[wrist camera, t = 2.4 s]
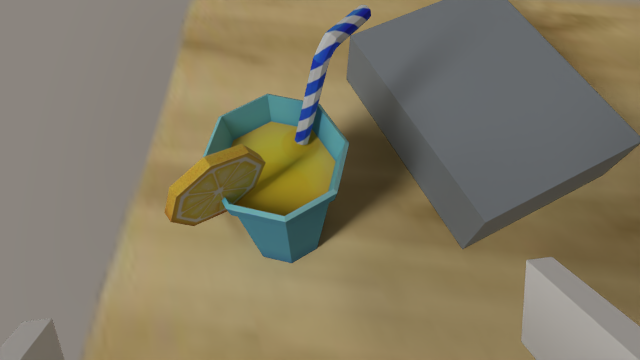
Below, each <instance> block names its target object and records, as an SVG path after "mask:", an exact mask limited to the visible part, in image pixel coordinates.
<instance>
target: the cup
mask: <svg viewBox="0 0 640 360" xmlns="http://www.w3.org/2000/svg"><path fill="white" fill-rule="evenodd" d="M370 16H371V11H370V9H369V8H368V7H367V6H366V5H360V6H359V7H358V8H356V9H355V10H354V11H352V12H351V13H350V14H349V15H347V16H346V17H345V18H344V19H342V20H341V21H340V22H338V23H337V24H336V25H335V26H333V27H332V28H331V29H330V30H328V31H327V32H326V33H325V34H324V36H323V38H322V40H321V42H320V44H319V46H318V49H317V51H316V53H315V55H314V58H313V62H312V66H311V70H310V75H309V79H308V84H307V88H306V92H305V97H304V101H302V100H297V99H292V98H287V97H282V96H277V95H271V94H266V95H264V96H261V97H259V98H257V99H255V100H253V101H251V102H249V103H247V104H245V105H243V106H241V107H239V108H236V109H234V110H232V111H230V112H228V113H226V114H224V115H222V116H220V117H219V118H218V121H217V123H216V126H215V128H214V131H213V133H212V135H211V138H210V140H209V143H208V145H207V148H206V150H205V153H204V155H203V158H202V159H201V160H199V161H198V162H197V163H196V164H195V165H194V166H193V167H192V168H190V169H189V170H188V171H187V172H186V173H185V174H184V175H183V176H182V177H180V178H179V179H178V180H177V181H176V182H175V183H174V184H173V185H171V186H170V187H169V192H168V197H167V203H166V208H165V214H166V215H167V217H168V218H169V220H170V221H171V222H174V223H180V224H185V225H191V226H195V225H197V224H199V223H202V222H204V221H206V220H208V219H211V218H213V217H215V216H218V215H220V214H222V213H224V212H227V211H228V212H229V213H230V214H231V215H234V216H238V217H239V219H240V221H241V222H242V224H243V225H244V227H245V228H246V230H247V232H248V233H249V235H250V236H251V238H252V239H253V241H254V242H255V244H256V246H257V247H258V249H259V250H260V252H261V253H262V255H263V256H264V257H268V258H272V259H276V260H281V261H285V262H289V263H293V262H295V261H296V260H298V259H300V258H301V257H303V256H305V255H306V254H308V253H310V252H312V251H313V250H315V249H317V246H318V243H319V239H320V235H321V231H322V227H323V224H324V220H325V216H326V212H327V209H328V205H329V203H330V202H332V201H333V200H335V197H336V195H337V192H338V188H339V184H340V180H341V176H342V171H343V167H344V163H345V159H346V155H347V151H348V146H349V142H348V141H347V140H346V138H345V137H344V136H343V134H342V133H341V132H340V130H339V129H338V128H337V126H336V125H335V124H334V122H333V121H332V120H331V118H330V117H329V116H328V115H327V113H326V112H325V111H324V109H323V108H322V107H321V105H320V104H318V102H319V98H320V95H321V91H322V87H323V83H324V79H325V75H326V71H327V67H328V64H329V60H330V58H331V56H332V54H333V52H334V51H335V49H336V48H337V47H338V46H339V45H340V44H341V43H342V42H343V41H344V40H346V39H347V38H348V37H349V36H350V35H351V34H352V33H353V32H355V31H356V30H357V29H358V28H359V27H360V26H361V25H363V24H364V23H365V22H366V21H367V20H368V19H369V18H370Z"/></svg>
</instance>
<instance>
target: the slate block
mask: <svg viewBox="0 0 640 360" xmlns="http://www.w3.org/2000/svg"><path fill="white" fill-rule="evenodd" d="M347 80H348V82H349V83H350V85H351V86H352V88H353V89H354V91H355V92H356V94H357V95H358V96H359V98H360V99H361V101H362V102H363V104H364V105H365V107H366V108H367V110H368V111H369V113H370V114H371V116H372V117H373V119H374V120H375V121H376V123H377V124H378V126H379V127H380V129H381V130H382V132H383V133H384V135H385V136H386V138H387V139H388V141H389V142H390V144H391V145H392V146H393V148H394V149H395V151H396V152H397V154H398V155H399V157H400V158H401V160H402V161H403V163H404V164H405V166H406V167H407V168H408V170H409V171H410V173H411V174H412V176H413V177H414V179H415V180H416V182H417V183H418V185H419V186H420V188H421V189H422V191H423V192H424V193H425V195H426V196H427V198H428V199H429V201H430V202H431V204H432V205H433V207H434V208H435V210H436V211H437V213H438V214H439V216H440V217H441V218H442V220H443V221H444V223H445V224H446V226H447V227H448V229H449V230H450V232H451V233H452V235H453V236H454V238H455V239H456V240H457V242H458V243H459V245H460V246H461V248H462V249H464V248H466V247H468V246H470V245H471V244H473V243H475V242H477V241H479V240H481V239H483V238H485V237H487V236H488V235H490V234H492V233H494V232H496V231H498V230H500V229H502V228H504V227H505V226H507V225H509V224H511V223H513V222H515V221H517V220H519V219H521V218H523V217H524V216H526V215H528V214H530V213H532V212H534V211H536V210H538V209H540V208H541V207H543V206H545V205H547V204H549V203H551V202H553V201H555V200H557V199H558V198H560V197H562V196H564V195H566V194H568V193H570V192H572V191H574V190H576V189H577V188H579V187H581V186H583V185H585V184H587V183H589V182H591V181H593V180H594V179H596V178H598V177H600V176H602V175H603V174H605V173H606V172H607V171H608V170H609V169H610V168H612V167H613V166H614V165H615V164H616V163H618V162H619V161H620V160H621V159H622V158H623V157H625V156H626V155H627V154H628V153H629V152H630V151H632V150H633V149H634V148H635V147H636V146H638V145H639V144H640V136H639V135H638V134H637V133H636V132H635V131H634V130H633V129H632V128H631V127H630V126H629V125H628V124H627V123H626V122H625V121H624V120H623V119H622V117H621V116H620V115H619V114H618V113H617V112H616V111H615V110H614V109H613V108H612V107H611V106H610V105H609V104H608V103H607V102H606V101H605V100H604V99H603V98H602V97H601V96H600V95H599V94H598V93H597V92H596V91H595V90H594V89H593V88H592V87H591V86H590V85H589V84H588V83H587V81H586V80H585V79H584V78H583V77H582V76H581V75H580V74H579V73H578V72H577V71H576V70H575V69H574V68H573V67H572V66H571V65H570V64H569V63H568V62H567V61H566V60H565V59H564V58H563V57H562V56H561V55H560V54H559V53H558V52H557V51H556V50H555V49H554V48H553V46H552V45H551V44H550V43H549V42H548V41H547V40H546V39H545V38H544V37H543V36H542V35H541V34H540V33H539V32H538V31H537V30H536V29H535V28H534V27H533V26H532V25H531V24H530V23H529V22H528V21H527V20H526V19H525V18H524V17H523V16H522V15H521V14H520V13H519V12H518V10H517V9H516V8H515V7H514V6H513V5H512V4H511V3H510V2H509V1H508V0H442V1H440V2H437V3H434V4H432V5H429V6H427V7H424V8H421V9H419V10H416V11H414V12H411V13H408V14H406V15H403V16H401V17H398V18H395V19H393V20H390V21H388V22H385V23H382V24H380V25H377V26H375V27H372V28H369V29H367V30H364V31H362V32H359V33H356V34H354V35H351V36H350V46H349V57H348V68H347Z"/></svg>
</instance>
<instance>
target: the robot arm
mask: <svg viewBox="0 0 640 360" xmlns="http://www.w3.org/2000/svg"><path fill="white" fill-rule="evenodd" d="M521 342H522V343H523V344H524V345H525V346H526V348H527V349H528V350H529V351H530V353H531V354H532V355H533V356H534V358H535V359H536V360H640V326H638V325H637V324H636V323H635V322H633V321H632V320H631V319H630V318H628V317H627V316H626V315H625V314H623V313H622V312H621V311H620V310H618V309H617V308H616V307H615V306H613V305H612V304H611V303H610V302H608V301H607V300H606V299H604V298H603V297H602V296H601V295H599V294H598V293H597V292H596V291H594V290H593V289H592V288H591V287H589V286H588V285H587V284H586V283H584V282H583V281H582V280H581V279H579V278H578V277H577V276H576V275H574V274H573V273H572V272H571V271H569V270H568V269H567V268H565V267H564V266H563V265H562V264H560V263H559V262H558V261H557V260H555V259H554V258H553V257H547V258H539V259H531V260H526V275H525V291H524V307H523V323H522V339H521ZM0 360H64V357H63V353H62V350H61V347H60V343H59V340H58V337H57V333H56V330H55V326H54V323H53V320H52V319H44V320H35V321H26V322H22V323H21V324H20V325H19V326H18V327H17V329H16V330H15V331H14V332H13V333H12V334H11V336H10V337H9V338H8V339H7V340H6V341H5V342H4V344H3V345H2V346H1V347H0Z"/></svg>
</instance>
